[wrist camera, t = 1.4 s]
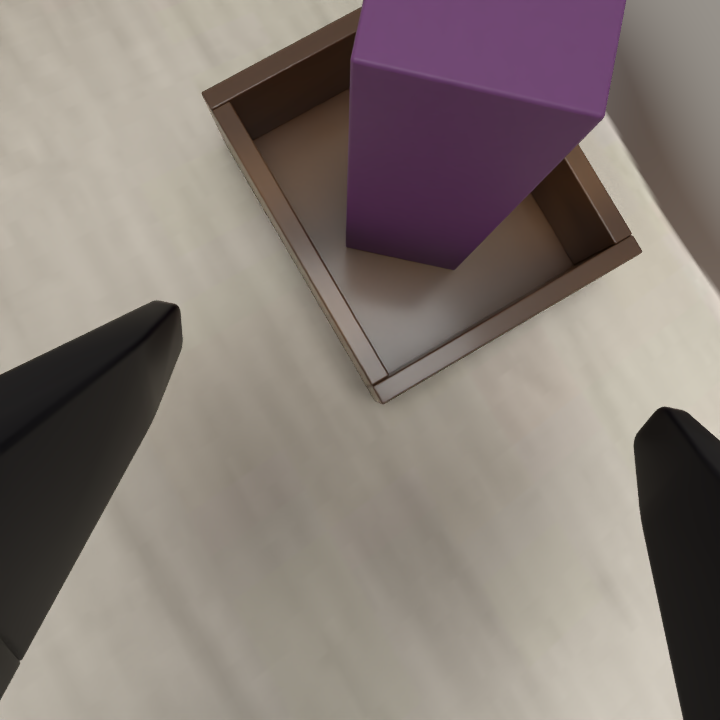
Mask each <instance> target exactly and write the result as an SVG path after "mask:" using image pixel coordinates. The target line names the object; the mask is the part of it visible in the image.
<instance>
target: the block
mask: <svg viewBox="0 0 720 720" xmlns="http://www.w3.org/2000/svg"><path fill="white" fill-rule="evenodd" d="M625 4H626V0H363V4H362V8H361V13H360V18H359V22H358V27H357V31H356V36H355V41H354V45H353V50H352V54H351V59H350V97H349V136H348V174H347V213H346V247H349V248H354V249H358V250H363V251H368V252H372V253H377V254H381V255H386V256H391V257H395V258H400V259H405V260H409V261H414V262H418V263H423V264H428V265H432V266H437V267H442V268H446V269H451V270H455V269H456V268H457V267H458V266H459V265H460V264H461V263H462V262H463V261H464V260H465V259H466V258H467V257H468V256H469V255H470V254H471V253H472V252H473V251H474V250H475V249H476V248H477V247H478V246H479V245H480V244H481V243H482V242H483V241H484V240H485V238H486V237H487V236H488V235H489V234H490V233H491V232H492V231H493V230H494V229H495V228H496V227H497V226H498V225H499V224H500V223H501V222H502V221H503V220H504V219H505V218H506V217H507V216H508V215H509V214H510V213H511V212H512V211H513V210H514V209H515V208H516V207H517V206H518V205H519V204H520V203H521V202H522V201H523V200H524V199H525V198H526V197H527V196H528V195H529V194H530V193H531V192H532V191H533V190H534V189H535V187H536V186H537V185H538V184H539V183H540V182H541V181H542V180H543V179H544V178H545V177H546V176H547V175H548V174H549V173H550V172H551V171H552V170H553V169H554V168H555V167H556V166H557V165H558V164H559V163H560V162H561V161H562V160H563V159H564V158H565V157H566V156H567V155H568V154H569V153H570V152H571V151H572V150H573V149H574V148H575V147H576V146H577V145H578V144H579V143H580V142H581V141H582V140H583V139H584V138H585V137H586V135H587V134H588V133H589V132H590V131H591V130H592V129H593V128H594V127H595V126H596V125H597V124H598V123H599V122H600V121H601V120H602V119H603V118H604V116H605V111H606V105H607V99H608V95H609V89H610V84H611V79H612V73H613V67H614V62H615V57H616V52H617V47H618V41H619V36H620V31H621V25H622V19H623V14H624V9H625Z"/></svg>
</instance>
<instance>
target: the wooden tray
mask: <svg viewBox="0 0 720 720" xmlns="http://www.w3.org/2000/svg"><path fill="white" fill-rule="evenodd" d="M361 8H362V7H360V8H358V9H357V10H355V11H353V12H351V13H349V14H347V15H345V16H343V17H342V18H340V19H338V20H336V21H334V22H332V23H330V24H328V25H327V26H325V27H323V28H321V29H319V30H317V31H315V32H314V33H312V34H310V35H308V36H306V37H304V38H302V39H300V40H299V41H297V42H295V43H293V44H291V45H289V46H287V47H286V48H284V49H282V50H280V51H278V52H276V53H274V54H272V55H271V56H269V57H267V58H265V59H263V60H261V61H259V62H257V63H256V64H254V65H252V66H250V67H248V68H246V69H244V70H243V71H241V72H239V73H237V74H235V75H233V76H231V77H229V78H228V79H226V80H224V81H222V82H220V83H218V84H216V85H214V86H213V87H211V88H209V89H207V90H205V91H203V92H202V96H203V98H204V100H205V102H206V104H207V106H208V108H209V110H210V112H211V115H212V117H213V119H214V121H215V123H216V125H217V127H218V129H219V131H220V133H221V135H222V137H223V139H224V141H225V143H226V145H227V147H228V149H229V150H230V152H231V154H232V156H233V157H234V159H235V161H236V162H237V164H238V166H239V168H240V169H241V171H242V173H243V174H244V176H245V178H246V180H247V181H248V183H249V185H250V187H251V188H252V190H253V192H254V193H255V195H256V197H257V199H258V200H259V202H260V204H261V205H262V207H263V209H264V211H265V212H266V214H267V216H268V218H269V219H270V221H271V223H272V224H273V226H274V228H275V230H276V231H277V233H278V235H279V236H280V238H281V240H282V242H283V243H284V245H285V247H286V249H287V250H288V252H289V254H290V255H291V257H292V259H293V261H294V262H295V264H296V266H297V267H298V269H299V271H300V273H301V274H302V276H303V278H304V280H305V281H306V283H307V285H308V286H309V288H310V290H311V292H312V293H313V295H314V297H315V298H316V300H317V302H318V304H319V305H320V307H321V309H322V311H323V312H324V314H325V316H326V317H327V319H328V321H329V323H330V324H331V326H332V328H333V329H334V331H335V333H336V335H337V336H338V338H339V340H340V342H341V343H342V345H343V347H344V348H345V350H346V352H347V354H348V355H349V357H350V359H351V360H352V362H353V364H354V366H355V367H356V369H357V371H358V373H359V374H360V376H361V378H362V379H363V381H364V383H365V385H366V386H367V388H368V390H369V391H370V393H371V395H372V397H373V398H374V400H375V401H377V402H379V403H381V404H385V403H387V402H389V401H390V400H392V399H394V398H395V397H397V396H399V395H400V394H402V393H404V392H406V391H407V390H409V389H411V388H412V387H414V386H416V385H418V384H419V383H421V382H423V381H424V380H426V379H428V378H429V377H431V376H433V375H435V374H436V373H438V372H440V371H441V370H443V369H445V368H446V367H448V366H450V365H452V364H453V363H455V362H457V361H458V360H460V359H462V358H464V357H465V356H467V355H469V354H470V353H472V352H474V351H475V350H477V349H479V348H481V347H482V346H484V345H486V344H487V343H489V342H491V341H493V340H494V339H496V338H498V337H499V336H501V335H503V334H504V333H506V332H508V331H510V330H511V329H513V328H515V327H516V326H518V325H520V324H521V323H523V322H525V321H527V320H528V319H530V318H532V317H533V316H535V315H537V314H539V313H540V312H542V311H544V310H545V309H547V308H549V307H550V306H552V305H554V304H556V303H557V302H559V301H561V300H562V299H564V298H566V297H568V296H569V295H571V294H573V293H574V292H576V291H578V290H579V289H581V288H583V287H585V286H586V285H588V284H590V283H591V282H593V281H595V280H596V279H598V278H600V277H602V276H603V275H605V274H607V273H608V272H610V271H612V270H614V269H615V268H617V267H619V266H620V265H622V264H624V263H625V262H627V261H629V260H631V259H632V258H634V257H636V256H637V255H639V254H641V253H642V250H641V248H640V247H639V245H638V243H637V242H636V240H635V238H634V237H633V236H632V235H631V234H632V233H631V231H630V229H629V228H628V226H627V224H626V223H625V221H624V219H623V218H622V216H621V215H620V213H619V211H618V210H617V208H616V206H615V205H614V203H613V201H612V200H611V198H610V196H609V195H608V193H607V191H606V190H605V188H604V186H603V185H602V183H601V181H600V180H599V178H598V176H597V175H596V173H595V171H594V170H593V168H592V166H591V165H590V163H589V161H588V160H587V158H586V156H585V155H584V153H583V151H582V150H581V148H580V146H579V145H577V146H576V147H575V148H574V149H573V150H572V151H571V152H570V153H569V154H568V155H567V156H566V157H565V158H564V159H563V160H562V161H561V162H560V163H559V164H558V165H557V166H556V167H555V168H554V169H553V170H552V171H551V172H550V173H549V174H548V175H547V176H546V177H545V178H544V179H543V180H542V181H541V182H540V183H539V184H538V185H537V186H536V187H535V189H534V190H533V191H532V192H531V193H530V194H529V195H528V196H527V197H526V198H525V199H524V200H523V201H522V202H521V203H520V204H519V205H518V206H517V207H516V208H515V209H514V210H513V211H512V212H511V213H510V214H509V215H508V216H507V217H506V218H505V219H504V220H503V221H502V222H501V223H500V224H499V225H498V226H497V227H496V228H495V229H494V230H493V231H492V232H491V233H490V234H489V235H488V236H487V237H486V238H485V240H484V241H483V242H482V243H481V244H480V245H479V246H478V247H477V248H476V249H475V250H474V251H473V252H472V253H471V254H470V255H469V256H468V257H467V258H466V259H465V260H464V261H463V262H462V263H461V264H460V265H459V266H458V267H457V268H456V269H455V270H451V269H446V268H442V267H437V266H432V265H428V264H423V263H418V262H414V261H409V260H405V259H400V258H395V257H391V256H386V255H381V254H377V253H372V252H368V251H363V250H358V249H354V248H349V247H346V213H347V174H348V136H349V97H350V59H351V54H352V50H353V45H354V41H355V36H356V31H357V27H358V22H359V18H360V13H361ZM630 235H631V236H630Z"/></svg>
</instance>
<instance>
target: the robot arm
mask: <svg viewBox="0 0 720 720" xmlns="http://www.w3.org/2000/svg"><path fill="white" fill-rule="evenodd" d="M182 342H183V337H182V325H181V313H180V309H179V307H178V306H177V305H176V304H173V303H168V302H164V301H157V300H156V301H152V302H150V303H148V304H146V305H144V306H142V307H140V308H138V309H136V310H133V311H131V312H129V313H127V314H125V315H123V316H121V317H119V318H117V319H115V320H113V321H111V322H109V323H107V324H105V325H102V326H100V327H98V328H96V329H94V330H92V331H90V332H88V333H86V334H84V335H82V336H80V337H78V338H76V339H73V340H71V341H69V342H67V343H65V344H63V345H61V346H59V347H57V348H55V349H53V350H51V351H49V352H47V353H44V354H42V355H40V356H38V357H36V358H34V359H32V360H30V361H28V362H26V363H24V364H22V365H20V366H18V367H15V368H13V369H11V370H9V371H7V372H5V373H3V374H1V375H0V700H1V698H2V696H3V694H4V692H5V690H6V689H7V687H8V685H9V683H10V681H11V680H12V678H13V676H14V674H15V672H16V670H17V669H18V667H19V665H20V660H22V659H23V657H24V655H25V653H26V652H27V650H28V648H29V646H30V644H31V642H32V641H33V639H34V637H35V635H36V633H37V632H38V630H39V628H40V626H41V624H42V622H43V621H44V619H45V617H46V615H47V613H48V611H49V610H50V608H51V606H52V604H53V602H54V601H55V599H56V597H57V595H58V593H59V591H60V590H61V588H62V586H63V584H64V582H65V580H66V579H67V577H68V575H69V573H70V571H71V570H72V568H73V566H74V564H75V562H76V560H77V559H78V557H79V555H80V553H81V551H82V549H83V548H84V546H85V544H86V542H87V540H88V539H89V537H90V535H91V533H92V531H93V529H94V528H95V526H96V524H97V522H98V520H99V518H100V517H101V515H102V513H103V511H104V509H105V508H106V506H107V504H108V502H109V500H110V498H111V497H112V495H113V493H114V491H115V489H116V487H117V486H118V484H119V482H120V480H121V478H122V477H123V475H124V473H125V471H126V469H127V467H128V466H129V464H130V462H131V460H132V458H133V456H134V455H135V453H136V451H137V449H138V447H139V446H140V444H141V442H142V440H143V438H144V436H145V435H146V433H147V431H148V429H149V427H150V425H151V423H152V421H153V419H154V417H155V415H156V412H157V410H158V407H159V405H160V402H161V400H162V397H163V395H164V392H165V390H166V387H167V385H168V382H169V380H170V377H171V375H172V372H173V369H174V367H175V364H176V362H177V359H178V357H179V354H180V352H181V348H182ZM634 455H635V466H636V476H637V487H638V497H639V508H640V515H641V522H642V527H643V532H644V537H645V542H646V547H647V551H648V556H649V561H650V565H651V570H652V575H653V580H654V584H655V589H656V594H657V598H658V603H659V608H660V612H661V617H662V622H663V627H664V631H665V636H666V641H667V645H668V650H669V655H670V659H671V664H672V669H673V674H674V678H675V683H676V688H677V692H678V697H679V702H680V707H681V711H682V716H683V720H720V441H719V440H718V439H717V438H716V437H715V436H714V435H713V434H711V433H710V432H709V431H708V430H707V429H706V428H705V427H703V426H702V425H701V424H700V423H699V422H698V421H697V420H695V419H694V418H693V417H692V416H691V415H690V414H689V413H687V412H685V411H683V410H679V409H675V408H670V407H661V408H659V409H657V410H656V411H655V412H654V414H653V415H652V416H651V417H650V418H649V420H648V421H647V422H646V423H645V424H644V425H643V427H642V428H641V429H640V430H639V431H638V433H637V434H636V437H635V440H634Z"/></svg>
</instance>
